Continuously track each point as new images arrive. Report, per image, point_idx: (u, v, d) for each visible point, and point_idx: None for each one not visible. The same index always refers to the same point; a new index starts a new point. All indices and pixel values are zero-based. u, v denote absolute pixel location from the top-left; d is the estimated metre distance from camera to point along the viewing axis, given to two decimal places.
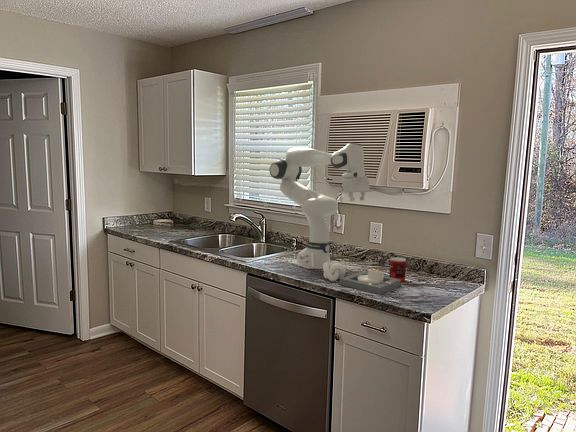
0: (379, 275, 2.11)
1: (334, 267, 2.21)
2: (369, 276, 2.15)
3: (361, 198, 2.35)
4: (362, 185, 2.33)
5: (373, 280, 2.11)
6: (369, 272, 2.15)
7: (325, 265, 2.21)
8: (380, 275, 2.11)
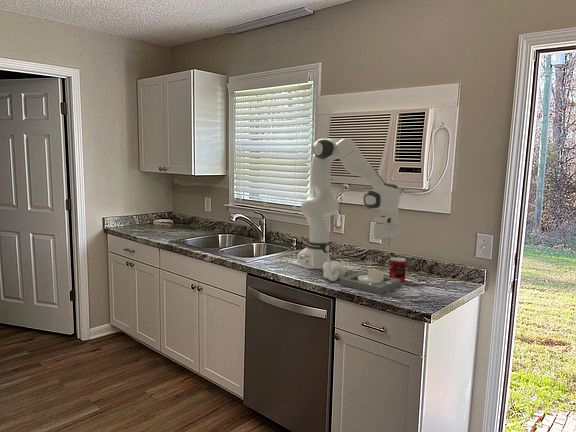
0: (379, 275, 2.11)
1: (334, 267, 2.21)
2: (369, 276, 2.15)
3: None
4: (394, 230, 2.15)
5: (373, 280, 2.11)
6: (369, 272, 2.15)
7: (325, 265, 2.21)
8: (380, 275, 2.11)
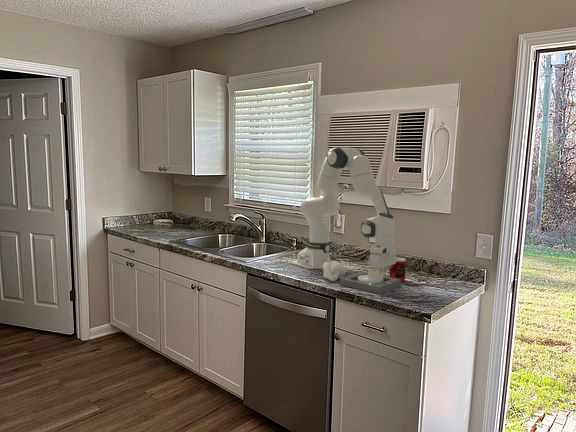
0: (379, 275, 2.11)
1: (334, 267, 2.21)
2: (369, 276, 2.15)
3: None
4: (390, 259, 2.14)
5: (373, 280, 2.11)
6: (369, 272, 2.15)
7: (325, 265, 2.21)
8: (380, 275, 2.11)
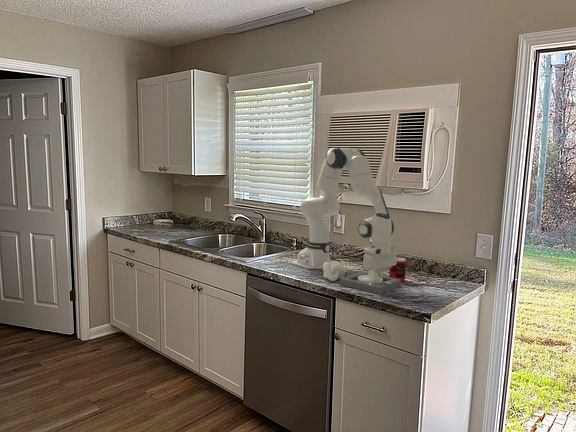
0: (373, 276, 2.10)
1: (334, 267, 2.21)
2: (368, 276, 2.15)
3: None
4: (387, 260, 2.11)
5: (367, 280, 2.12)
6: (368, 272, 2.15)
7: (325, 265, 2.21)
8: (374, 276, 2.10)
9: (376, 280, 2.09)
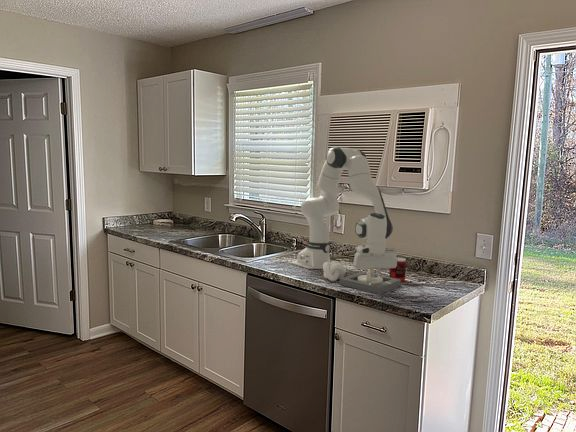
0: (366, 275, 2.10)
1: (334, 267, 2.21)
2: None
3: None
4: (382, 261, 2.08)
5: (363, 279, 2.13)
6: None
7: (325, 265, 2.21)
8: (366, 275, 2.10)
9: (368, 280, 2.09)
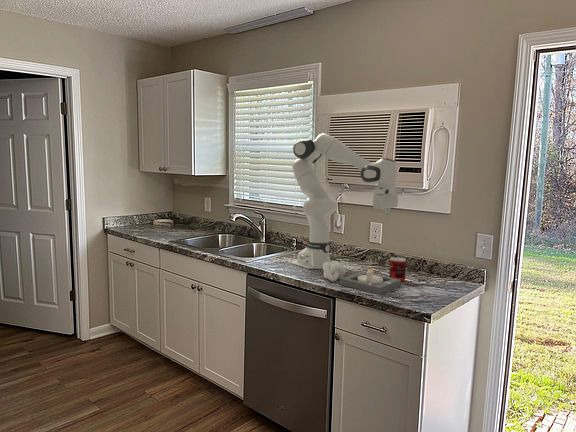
0: (366, 275, 2.10)
1: (334, 267, 2.21)
2: None
3: None
4: (391, 201, 2.31)
5: (363, 279, 2.13)
6: None
7: (325, 265, 2.21)
8: (366, 275, 2.10)
9: (368, 280, 2.09)
